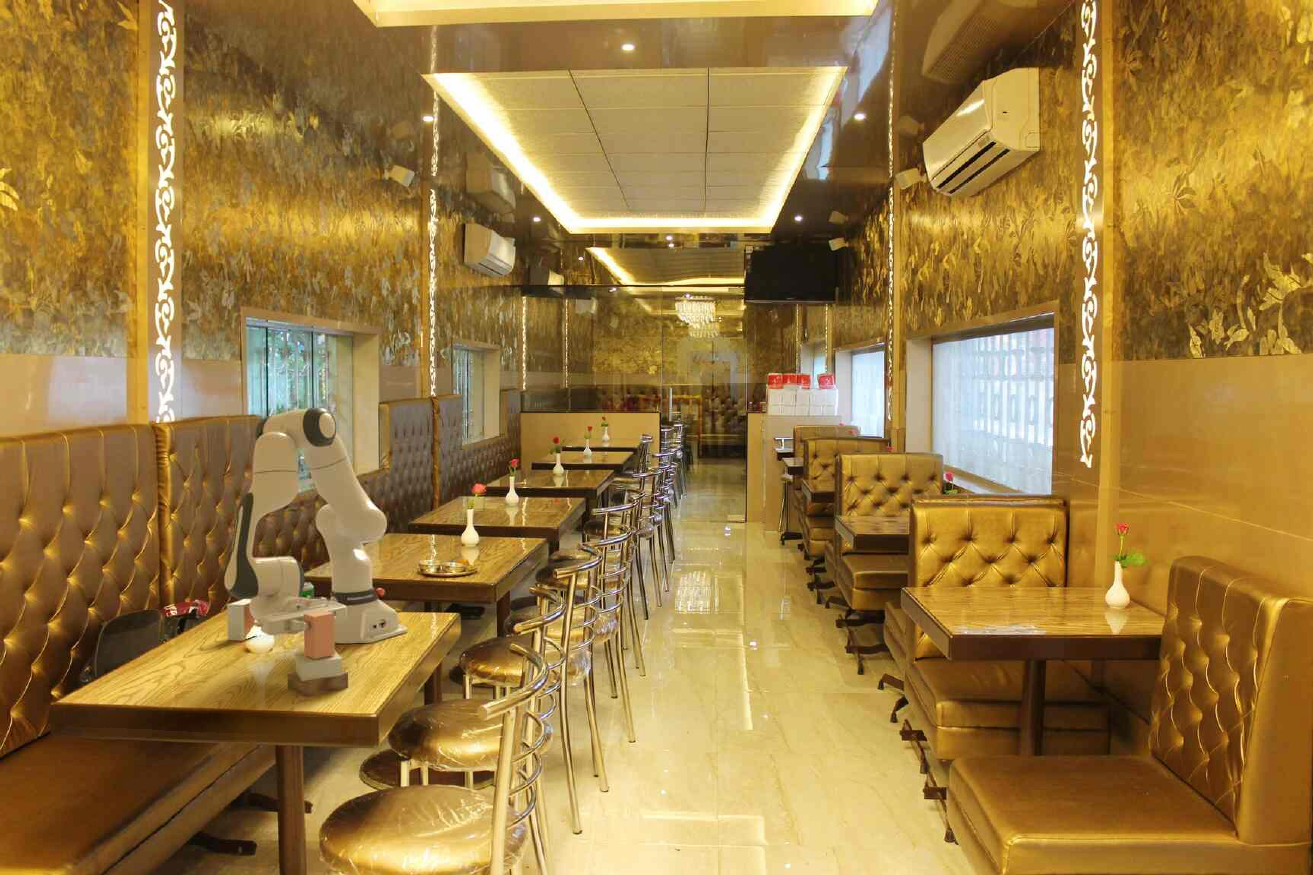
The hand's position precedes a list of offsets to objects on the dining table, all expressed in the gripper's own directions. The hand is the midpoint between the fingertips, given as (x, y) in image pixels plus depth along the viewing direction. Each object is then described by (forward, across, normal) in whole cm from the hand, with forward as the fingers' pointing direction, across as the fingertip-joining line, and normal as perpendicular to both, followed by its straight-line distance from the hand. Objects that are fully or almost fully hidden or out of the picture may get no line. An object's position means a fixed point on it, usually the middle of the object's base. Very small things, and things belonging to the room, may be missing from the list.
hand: (320, 623), depth 219 cm
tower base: (-1, 0, +16) cm, 16 cm away
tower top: (-1, 0, +12) cm, 12 cm away
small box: (-62, +10, +16) cm, 65 cm away
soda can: (-67, +30, +16) cm, 75 cm away
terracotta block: (-1, 0, +8) cm, 8 cm away
